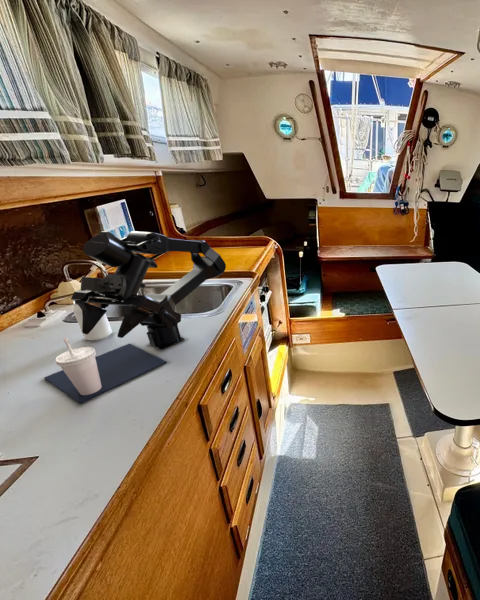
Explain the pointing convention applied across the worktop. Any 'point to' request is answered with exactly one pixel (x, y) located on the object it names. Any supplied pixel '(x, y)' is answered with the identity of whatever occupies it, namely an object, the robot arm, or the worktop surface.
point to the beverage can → (101, 327)
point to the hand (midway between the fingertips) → (102, 335)
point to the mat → (111, 371)
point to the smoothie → (80, 368)
